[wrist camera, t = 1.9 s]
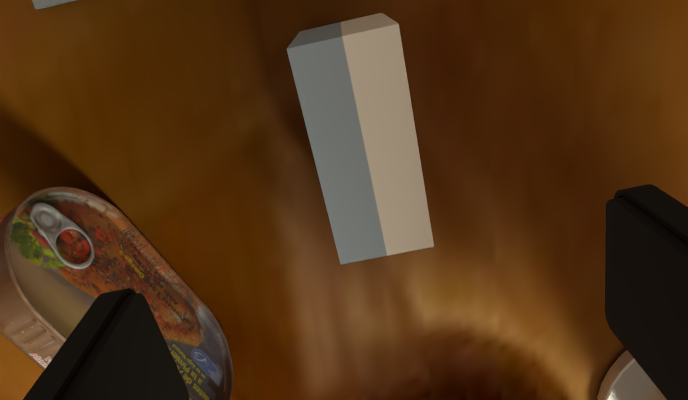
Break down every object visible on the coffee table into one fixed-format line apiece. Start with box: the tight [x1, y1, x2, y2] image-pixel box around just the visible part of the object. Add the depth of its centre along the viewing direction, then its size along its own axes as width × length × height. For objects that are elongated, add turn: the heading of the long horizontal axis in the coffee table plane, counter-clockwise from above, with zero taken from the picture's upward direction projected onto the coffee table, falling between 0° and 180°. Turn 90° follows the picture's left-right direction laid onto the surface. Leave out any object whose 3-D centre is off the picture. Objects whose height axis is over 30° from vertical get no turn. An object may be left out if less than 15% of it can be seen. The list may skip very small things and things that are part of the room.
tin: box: [0, 186, 233, 400], centre depth 25 cm, size 15×3×8 cm, turn 31°
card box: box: [287, 13, 434, 264], centre depth 22 cm, size 4×9×7 cm, turn 12°
